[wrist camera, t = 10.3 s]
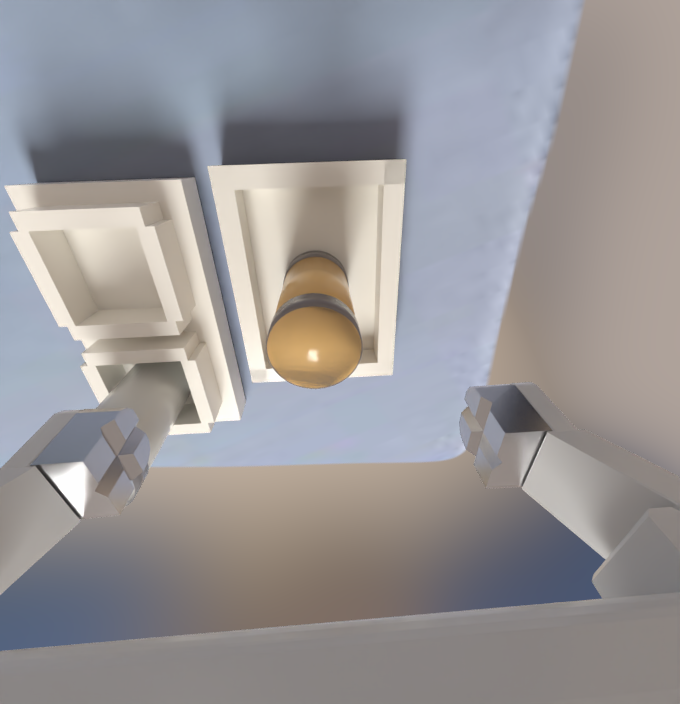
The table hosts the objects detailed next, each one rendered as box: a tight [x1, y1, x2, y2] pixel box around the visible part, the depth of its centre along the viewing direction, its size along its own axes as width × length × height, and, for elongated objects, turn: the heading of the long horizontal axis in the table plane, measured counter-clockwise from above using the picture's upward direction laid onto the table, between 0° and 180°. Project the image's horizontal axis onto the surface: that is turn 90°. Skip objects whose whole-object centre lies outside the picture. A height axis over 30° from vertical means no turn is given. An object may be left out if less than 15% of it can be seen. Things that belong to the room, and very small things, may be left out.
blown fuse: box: [266, 250, 363, 389], centre depth 16 cm, size 4×4×8 cm
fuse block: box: [5, 177, 246, 506], centre depth 16 cm, size 15×8×10 cm, turn 2°
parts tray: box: [207, 159, 406, 383], centre depth 19 cm, size 12×9×2 cm
